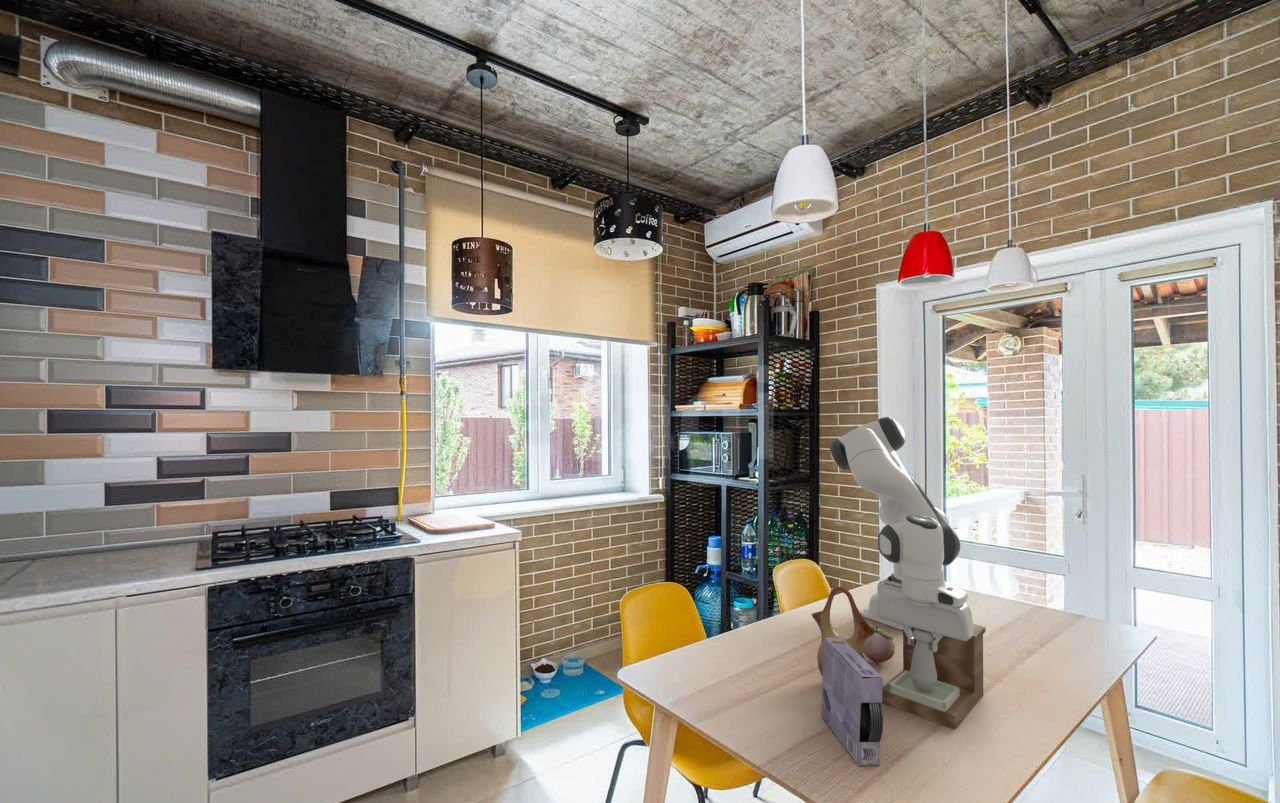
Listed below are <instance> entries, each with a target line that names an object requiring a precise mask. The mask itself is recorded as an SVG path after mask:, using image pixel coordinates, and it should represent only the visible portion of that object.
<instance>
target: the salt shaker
mask: <svg viewBox="0 0 1280 803" xmlns="http://www.w3.org/2000/svg"><path fill="white" fill-rule="evenodd" d="M913 638H914V639H915V640H916V642H915V647H914V652H913V658H912V663H911V668H910V672H909V675H910V678H911V680H912V682H913V684H914V686H915V687H917V688H919V689H921V690H930V691H931V690H932V689H933V687H934V685H935V684H936V682H937V672H936V667H935V662H934V656H933V652H932V651H930V650H929V649H928V643H931V642H933V639H934V637H933V633H932V632H929V631H925V630H921V629H918V628H915V629H914V630H913Z"/></svg>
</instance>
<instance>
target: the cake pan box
mask: <svg viewBox="0 0 1280 803" xmlns="http://www.w3.org/2000/svg"><path fill="white" fill-rule="evenodd" d="M865 660H866V659H865ZM865 660H864V659H863V658H862V657H861V656H860V655H859V654H858V653H857V652H856V651H855V650H854V649H853V648H852V647H851V646H850V645H849V644H848V643H847V642H846V641H845V640H844V639H843V638H825V639H824V653H823V677H821V678H822V683H821V684H822V685H821V705H820V706H821V708H820V716H821V718H823V719H824V721H825V722H826V723H827V724H828V726H829V727H830V729H831V730H832V731H833V734H834V736H835V737H836V738H837V740H838V741H839V743H840V744H841V746H843V747H844V749H846V752H848V754H849V755H850V756H851V758H852V759H853V760H854V761H855V764H856V765H857V767H879V766H881V764H880V763H881V762H880V760H881V739H882V736H883V733H884V732H883V731H884V730H883V729H884V713H883V703H882V687H883V686H884V685H883V684H884V681H883V680H884V679H883V677H882V676H881V675H880V674H879V672H878V671H877V670H876V669H875V668H873V667H872V665H870V664H869V662H868V661H865Z"/></svg>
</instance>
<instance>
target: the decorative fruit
mask: <svg viewBox="0 0 1280 803" xmlns="http://www.w3.org/2000/svg"><path fill="white" fill-rule="evenodd" d="M875 627H876V628H875ZM875 627H872V628H873V629H874V631H875V633H874V634H873V635H872V636H870V637H869V638H867V639H866V640H865V642H864V644H863V647H862V651H863V654H864V656H865V657H866V658H867V659H869V661H872V662H873V663H875V664H881V663H886V662H887V661H890V660H891V659H892V658H893V657H894V655H895V651H896V650H895V649H896V643H895V640H894V638H893V636H892V635H891V634H890V633H889V632H887V631H885V630H884V629H881V628H878V625H876V626H875Z"/></svg>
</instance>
